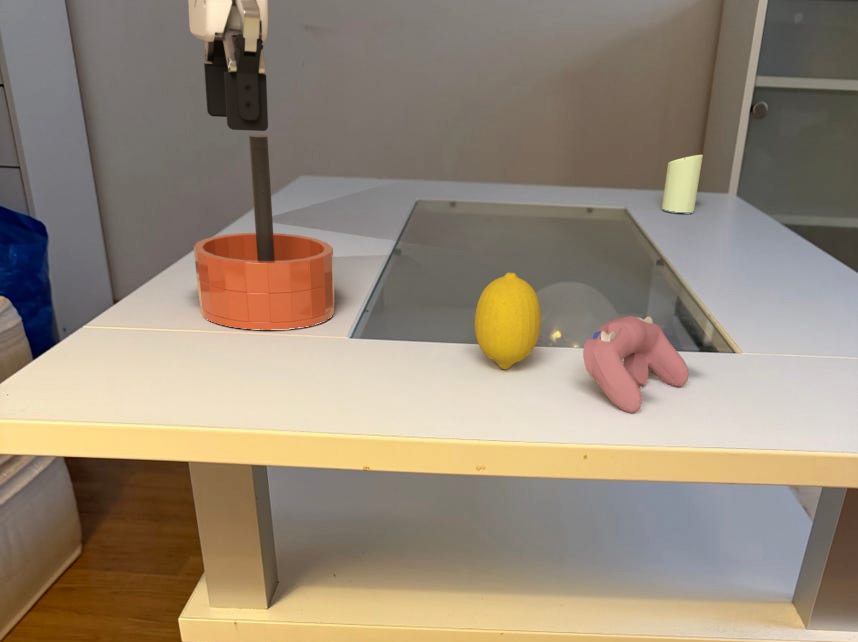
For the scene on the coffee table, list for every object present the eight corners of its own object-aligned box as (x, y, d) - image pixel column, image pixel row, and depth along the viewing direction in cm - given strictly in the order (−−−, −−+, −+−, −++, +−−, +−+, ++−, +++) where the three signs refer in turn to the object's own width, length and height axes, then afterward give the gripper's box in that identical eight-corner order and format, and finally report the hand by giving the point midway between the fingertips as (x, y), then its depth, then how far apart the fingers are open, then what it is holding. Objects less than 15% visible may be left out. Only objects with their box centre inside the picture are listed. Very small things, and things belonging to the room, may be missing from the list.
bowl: (212, 334, 88) (205, 265, 85) (192, 298, 98) (185, 234, 94) (349, 327, 92) (347, 260, 89) (316, 292, 102) (314, 231, 99)
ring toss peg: (247, 311, 92) (234, 139, 84) (238, 298, 96) (224, 131, 88) (300, 309, 94) (292, 140, 86) (288, 295, 97) (280, 132, 89)
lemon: (462, 361, 85) (466, 266, 81) (520, 356, 87) (527, 263, 83) (488, 382, 81) (493, 282, 77) (547, 376, 83) (556, 279, 79)
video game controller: (648, 393, 86) (626, 313, 84) (695, 381, 82) (673, 298, 81) (591, 424, 79) (565, 337, 77) (639, 412, 76) (614, 322, 74)
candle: (658, 211, 152) (666, 153, 147) (665, 207, 156) (674, 149, 151) (689, 215, 150) (699, 156, 146) (696, 211, 154) (706, 153, 150)
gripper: (157, -129, 80) (176, 110, 89) (189, -150, 66) (208, 134, 75) (250, -117, 82) (260, 113, 91) (299, -135, 69) (304, 137, 78)
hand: (236, 122), depth 83 cm, fingers open, 9 cm apart
